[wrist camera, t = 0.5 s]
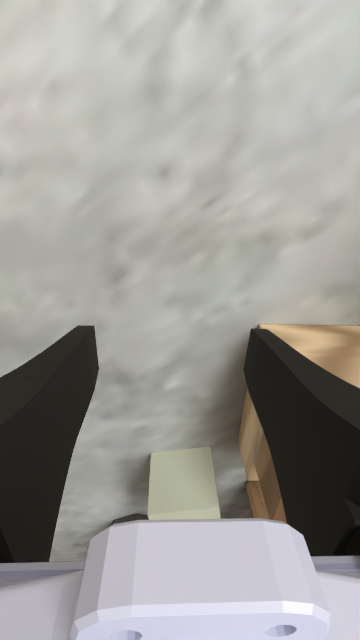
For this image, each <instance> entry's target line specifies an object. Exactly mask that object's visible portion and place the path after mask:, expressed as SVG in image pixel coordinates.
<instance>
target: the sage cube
mask: <svg viewBox="0 0 360 640" xmlns="http://www.w3.org/2000/svg"><path fill="white" fill-rule="evenodd" d="M147 515H148V518H149V520H167V519H221V516H220V508H219V501H218V494H217V488H216V481H215V474H214V467H213V460H212V453H211V446H207V447H199V448H190V449H182V450H174V451H166V452H157V453H151V461H150V478H149V496H148V514H147Z"/></svg>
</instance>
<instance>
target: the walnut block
mask: <svg viewBox="0 0 360 640" xmlns="http://www.w3.org/2000/svg"><path fill="white" fill-rule="evenodd" d="M253 461H254V465H255V468H256V472H257V475H258V479H259V483H260V486H261V490H262V493H263V497H264V501H265V504H266V508H267V511H268V515H269V518H270V520H276V521H283V522H284V523H286V524H287V521H286V516H285V512H284V507H283V502H282V498H281V494H280V489H279V485H278V481H277V476H276V472H275V468H274V465H273V461H272V457H271V453H270V449H269V446H268V443H267V440H266V437H265V434H264V432H263V429H262V426H261V429H260V433H259V437H258V441H257V445H256V450H255V454H254V458H253Z"/></svg>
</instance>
